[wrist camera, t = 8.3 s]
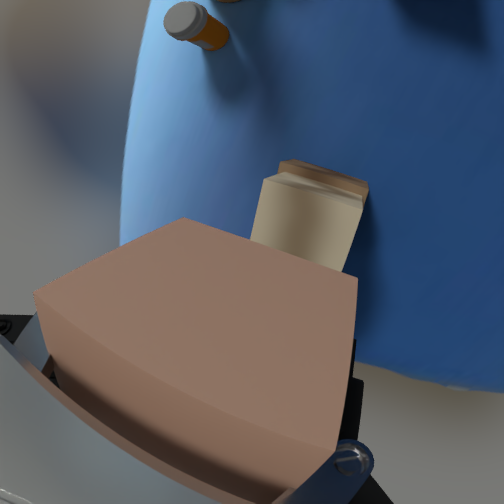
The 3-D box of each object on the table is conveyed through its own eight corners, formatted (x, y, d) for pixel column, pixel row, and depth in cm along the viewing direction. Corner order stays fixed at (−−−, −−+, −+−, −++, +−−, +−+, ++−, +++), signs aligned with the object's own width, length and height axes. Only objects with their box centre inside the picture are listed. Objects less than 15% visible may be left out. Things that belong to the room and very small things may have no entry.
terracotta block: (357, 278, 9) (335, 451, 4) (298, 401, 12) (247, 528, 6) (183, 217, 11) (32, 292, 5) (170, 346, 14) (81, 437, 8)
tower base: (367, 181, 29) (368, 189, 24) (344, 250, 32) (340, 272, 27) (294, 158, 31) (280, 161, 25) (276, 227, 34) (260, 243, 29)
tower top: (362, 195, 24) (362, 209, 19) (337, 268, 27) (330, 299, 22) (284, 171, 26) (264, 178, 20) (266, 243, 28) (243, 267, 23)
